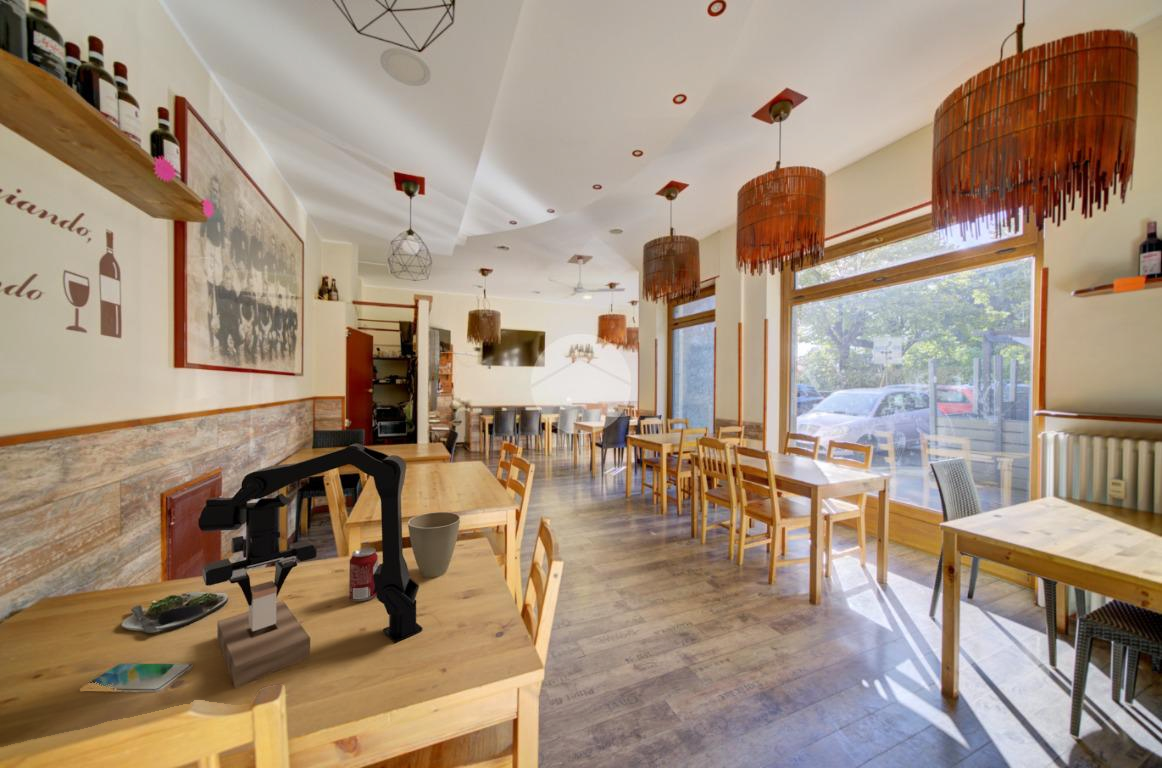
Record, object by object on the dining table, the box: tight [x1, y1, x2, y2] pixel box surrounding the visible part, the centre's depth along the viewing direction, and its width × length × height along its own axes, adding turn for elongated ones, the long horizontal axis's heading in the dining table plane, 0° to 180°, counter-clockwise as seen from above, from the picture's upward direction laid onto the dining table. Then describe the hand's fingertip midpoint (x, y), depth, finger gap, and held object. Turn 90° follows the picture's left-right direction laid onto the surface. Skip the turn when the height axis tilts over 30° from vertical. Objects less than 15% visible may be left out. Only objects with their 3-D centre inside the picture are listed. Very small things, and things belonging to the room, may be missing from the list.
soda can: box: [348, 547, 379, 602], centre depth 110 cm, size 7×7×12 cm
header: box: [216, 600, 311, 689], centre depth 89 cm, size 22×12×4 cm, turn 48°
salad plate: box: [121, 591, 229, 634], centre depth 101 cm, size 19×18×5 cm
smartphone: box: [89, 662, 193, 693], centre depth 79 cm, size 7×1×15 cm
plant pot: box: [407, 511, 461, 578], centre depth 125 cm, size 15×15×16 cm
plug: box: [248, 580, 277, 631], centre depth 89 cm, size 4×4×8 cm
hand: (262, 600), depth 89 cm, fingers closed on plug, 4 cm apart
